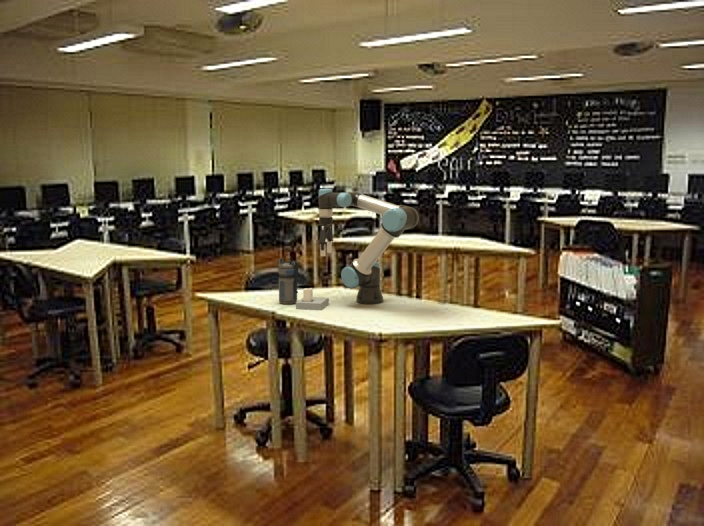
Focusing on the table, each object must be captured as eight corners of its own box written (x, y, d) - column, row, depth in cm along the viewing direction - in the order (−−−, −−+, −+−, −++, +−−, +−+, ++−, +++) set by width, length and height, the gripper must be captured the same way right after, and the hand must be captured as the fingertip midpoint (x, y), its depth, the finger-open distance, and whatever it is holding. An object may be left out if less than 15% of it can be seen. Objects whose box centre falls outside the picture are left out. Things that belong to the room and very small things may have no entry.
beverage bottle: (293, 306, 341) (292, 260, 337) (274, 303, 348) (273, 259, 344) (304, 302, 349) (303, 258, 346) (285, 300, 356) (284, 257, 353)
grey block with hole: (328, 303, 346) (328, 297, 345) (320, 310, 330) (320, 303, 330) (304, 302, 349) (304, 296, 348) (295, 308, 333) (295, 302, 333)
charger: (312, 306, 340) (312, 288, 338) (310, 307, 336) (310, 289, 334) (305, 306, 341) (305, 287, 339) (303, 307, 337) (303, 289, 335)
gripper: (325, 215, 359) (325, 251, 362) (313, 218, 335) (313, 257, 338) (337, 215, 357) (338, 251, 360) (326, 218, 333) (326, 257, 336)
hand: (326, 254), depth 349 cm, fingers open, 13 cm apart
